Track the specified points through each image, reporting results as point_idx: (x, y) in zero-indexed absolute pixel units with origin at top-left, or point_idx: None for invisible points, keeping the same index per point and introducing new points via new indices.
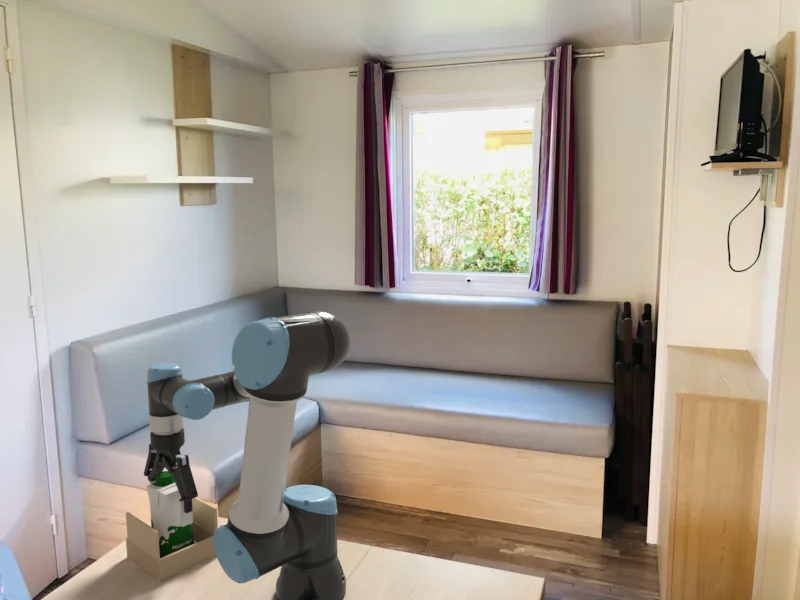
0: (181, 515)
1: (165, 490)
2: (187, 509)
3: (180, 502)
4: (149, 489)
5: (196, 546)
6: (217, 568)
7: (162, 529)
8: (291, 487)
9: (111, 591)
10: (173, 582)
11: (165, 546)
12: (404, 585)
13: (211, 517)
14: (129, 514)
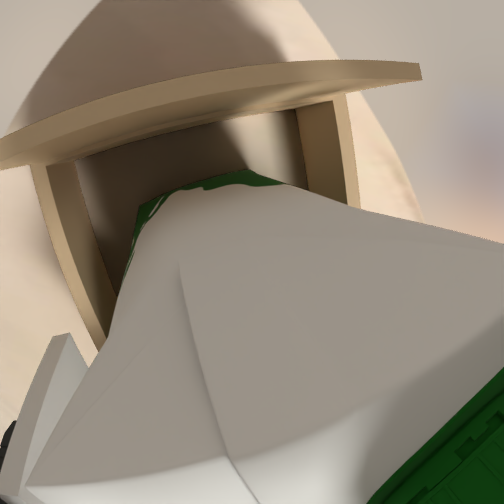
0: (33, 387)
1: None
2: (3, 448)
3: (8, 473)
4: (498, 275)
5: (88, 326)
6: (55, 333)
7: (153, 224)
8: None
9: (110, 3)
10: (34, 192)
11: (148, 211)
12: None
13: None
14: (388, 66)
